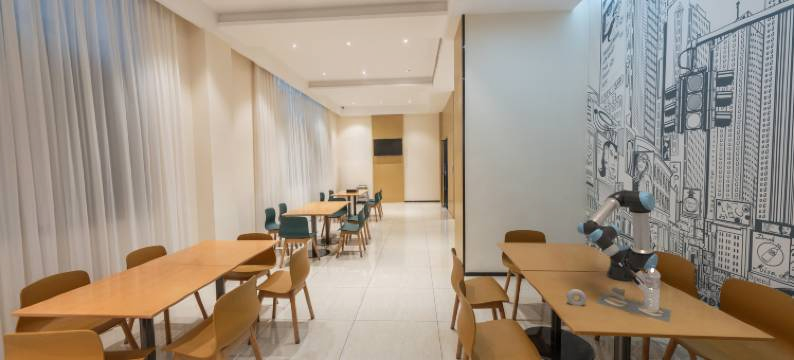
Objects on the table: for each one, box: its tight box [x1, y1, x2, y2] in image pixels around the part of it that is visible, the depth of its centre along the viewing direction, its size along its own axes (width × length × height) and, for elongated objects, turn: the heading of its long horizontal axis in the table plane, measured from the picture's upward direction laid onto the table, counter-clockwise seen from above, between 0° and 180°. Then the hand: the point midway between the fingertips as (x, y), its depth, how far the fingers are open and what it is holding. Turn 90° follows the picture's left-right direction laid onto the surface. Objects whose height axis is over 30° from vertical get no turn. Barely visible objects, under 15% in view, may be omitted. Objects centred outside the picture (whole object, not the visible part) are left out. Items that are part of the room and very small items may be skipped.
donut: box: [566, 288, 587, 307], centre depth 180 cm, size 10×4×10 cm, turn 75°
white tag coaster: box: [604, 286, 627, 307], centre depth 183 cm, size 14×11×6 cm
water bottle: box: [642, 265, 662, 313], centre depth 170 cm, size 7×7×25 cm
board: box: [596, 293, 672, 323], centre depth 177 cm, size 18×32×1 cm, turn 46°
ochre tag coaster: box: [638, 297, 664, 317], centre depth 172 cm, size 14×11×6 cm
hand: (646, 285), depth 171 cm, fingers open, 13 cm apart
